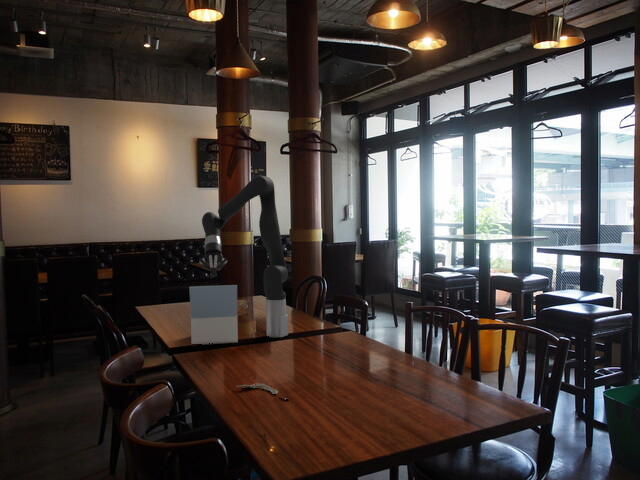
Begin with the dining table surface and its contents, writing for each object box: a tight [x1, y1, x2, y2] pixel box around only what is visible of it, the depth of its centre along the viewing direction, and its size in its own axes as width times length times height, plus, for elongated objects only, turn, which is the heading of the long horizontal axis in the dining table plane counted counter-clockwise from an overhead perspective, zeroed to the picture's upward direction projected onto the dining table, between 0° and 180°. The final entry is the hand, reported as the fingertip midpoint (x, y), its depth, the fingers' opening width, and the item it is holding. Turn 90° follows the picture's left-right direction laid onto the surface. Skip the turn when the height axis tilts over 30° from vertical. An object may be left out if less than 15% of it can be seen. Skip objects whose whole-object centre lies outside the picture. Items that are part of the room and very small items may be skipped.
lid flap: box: [188, 284, 238, 319], centre depth 215 cm, size 18×20×1 cm
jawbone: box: [235, 382, 287, 400], centre depth 160 cm, size 9×20×2 cm, turn 60°
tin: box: [237, 299, 250, 317], centre depth 286 cm, size 15×3×8 cm, turn 143°
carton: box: [190, 316, 239, 345], centre depth 230 cm, size 18×20×12 cm
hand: (213, 276), depth 222 cm, fingers closed
